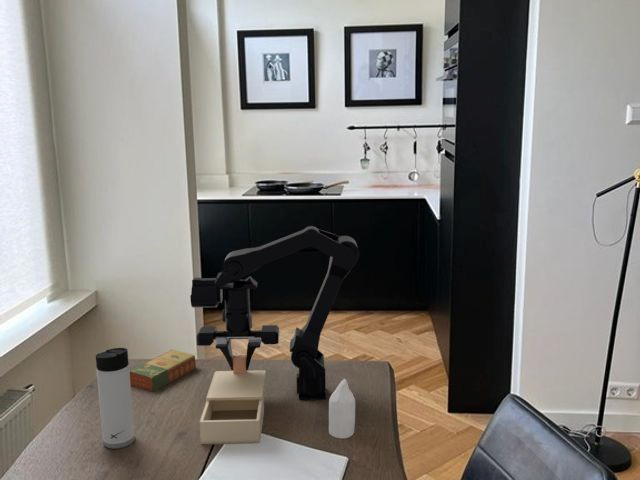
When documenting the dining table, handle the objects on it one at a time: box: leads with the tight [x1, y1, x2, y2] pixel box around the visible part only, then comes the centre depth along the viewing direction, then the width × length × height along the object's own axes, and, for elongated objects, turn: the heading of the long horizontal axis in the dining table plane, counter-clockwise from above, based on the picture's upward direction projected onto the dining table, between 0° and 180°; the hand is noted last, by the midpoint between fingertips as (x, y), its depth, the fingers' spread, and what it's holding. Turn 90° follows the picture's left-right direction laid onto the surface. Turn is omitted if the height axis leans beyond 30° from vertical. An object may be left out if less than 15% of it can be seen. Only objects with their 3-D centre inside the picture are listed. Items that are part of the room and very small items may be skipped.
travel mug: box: [95, 347, 136, 450], centre depth 128 cm, size 6×7×20 cm
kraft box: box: [199, 389, 265, 446], centre depth 135 cm, size 12×14×5 cm
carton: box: [129, 349, 197, 392], centre depth 161 cm, size 8×16×4 cm, turn 150°
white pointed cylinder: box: [328, 378, 356, 440], centre depth 131 cm, size 6×12×6 cm
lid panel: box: [205, 354, 267, 402], centre depth 142 cm, size 12×14×5 cm
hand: (240, 369), depth 148 cm, fingers closed on lid panel, 3 cm apart
